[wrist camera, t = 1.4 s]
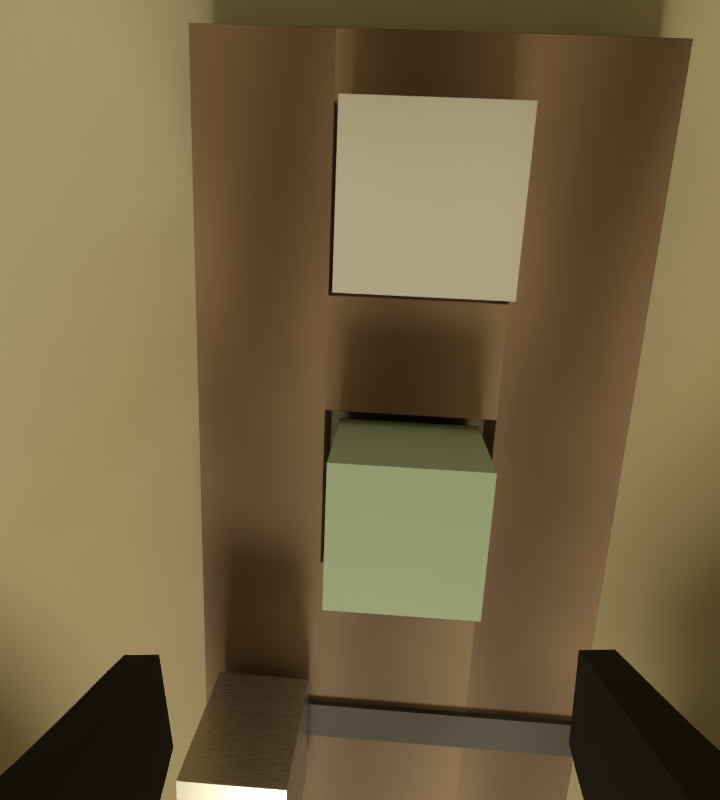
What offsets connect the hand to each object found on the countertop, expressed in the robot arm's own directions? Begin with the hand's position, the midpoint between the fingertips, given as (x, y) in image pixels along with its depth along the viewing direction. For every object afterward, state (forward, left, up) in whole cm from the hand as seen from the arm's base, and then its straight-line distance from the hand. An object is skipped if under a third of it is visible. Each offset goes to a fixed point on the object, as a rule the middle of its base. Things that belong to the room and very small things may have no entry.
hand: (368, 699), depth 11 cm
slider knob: (+3, +8, -7) cm, 11 cm away
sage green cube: (-1, 0, -8) cm, 8 cm away
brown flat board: (-1, 0, -10) cm, 10 cm away
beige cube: (-1, -8, -8) cm, 12 cm away
